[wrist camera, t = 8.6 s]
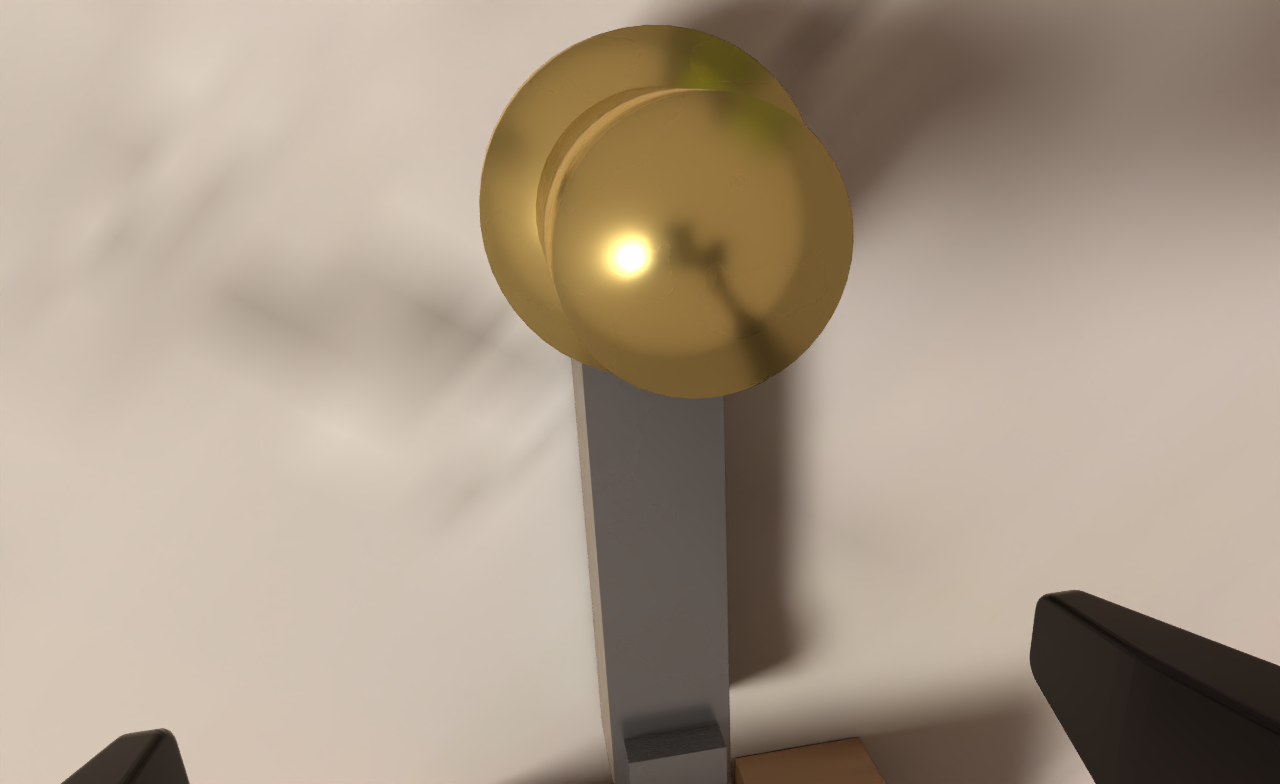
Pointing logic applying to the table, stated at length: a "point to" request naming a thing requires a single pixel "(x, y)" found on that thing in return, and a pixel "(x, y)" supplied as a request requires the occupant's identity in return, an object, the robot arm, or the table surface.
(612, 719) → the grey sliding bolt
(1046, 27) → the table surface
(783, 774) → the block
